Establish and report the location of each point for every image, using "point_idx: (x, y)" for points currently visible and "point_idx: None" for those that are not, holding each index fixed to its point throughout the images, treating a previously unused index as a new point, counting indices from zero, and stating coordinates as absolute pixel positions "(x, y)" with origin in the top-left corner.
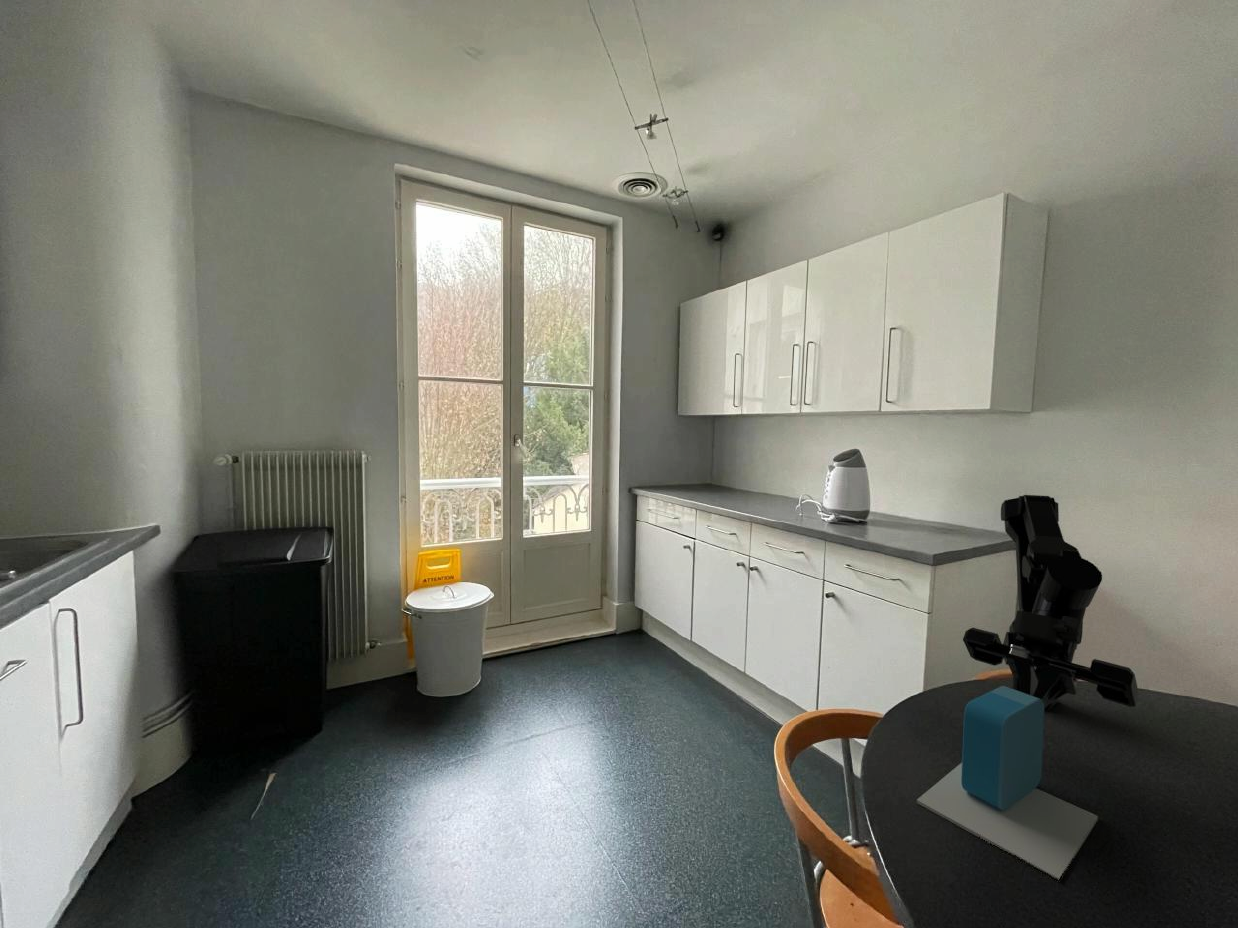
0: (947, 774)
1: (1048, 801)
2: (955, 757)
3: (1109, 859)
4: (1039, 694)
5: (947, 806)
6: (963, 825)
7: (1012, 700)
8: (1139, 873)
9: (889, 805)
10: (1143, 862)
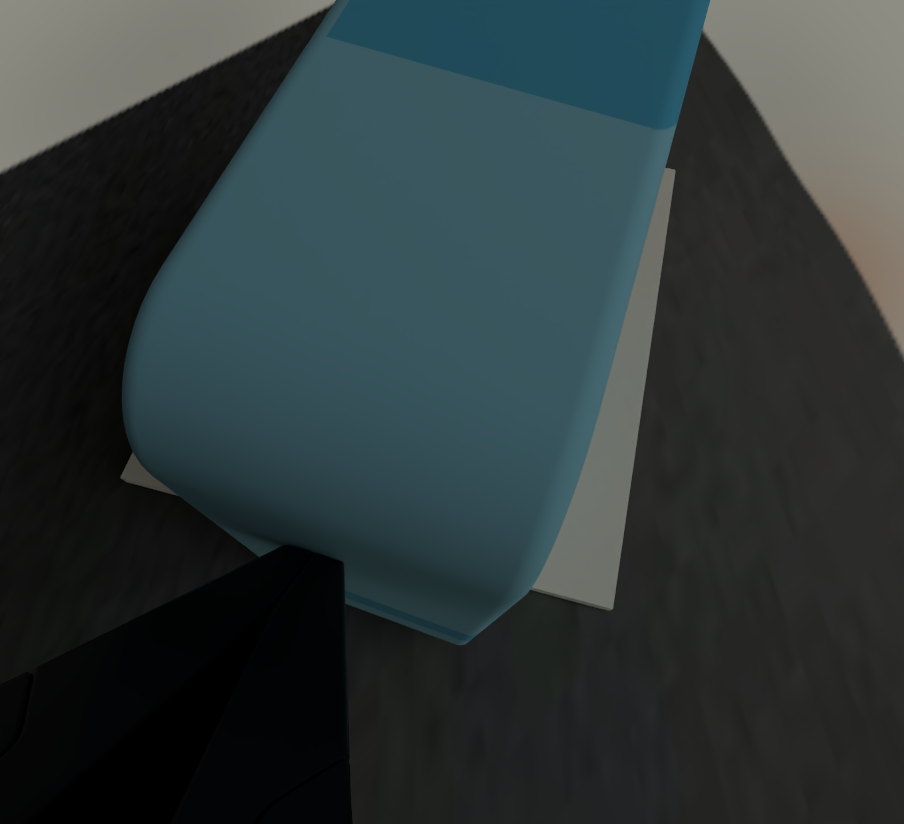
0: (644, 384)
1: None
2: (658, 594)
3: (161, 262)
4: (106, 671)
5: None
6: None
7: (444, 63)
8: (94, 250)
9: (723, 124)
10: (59, 311)
